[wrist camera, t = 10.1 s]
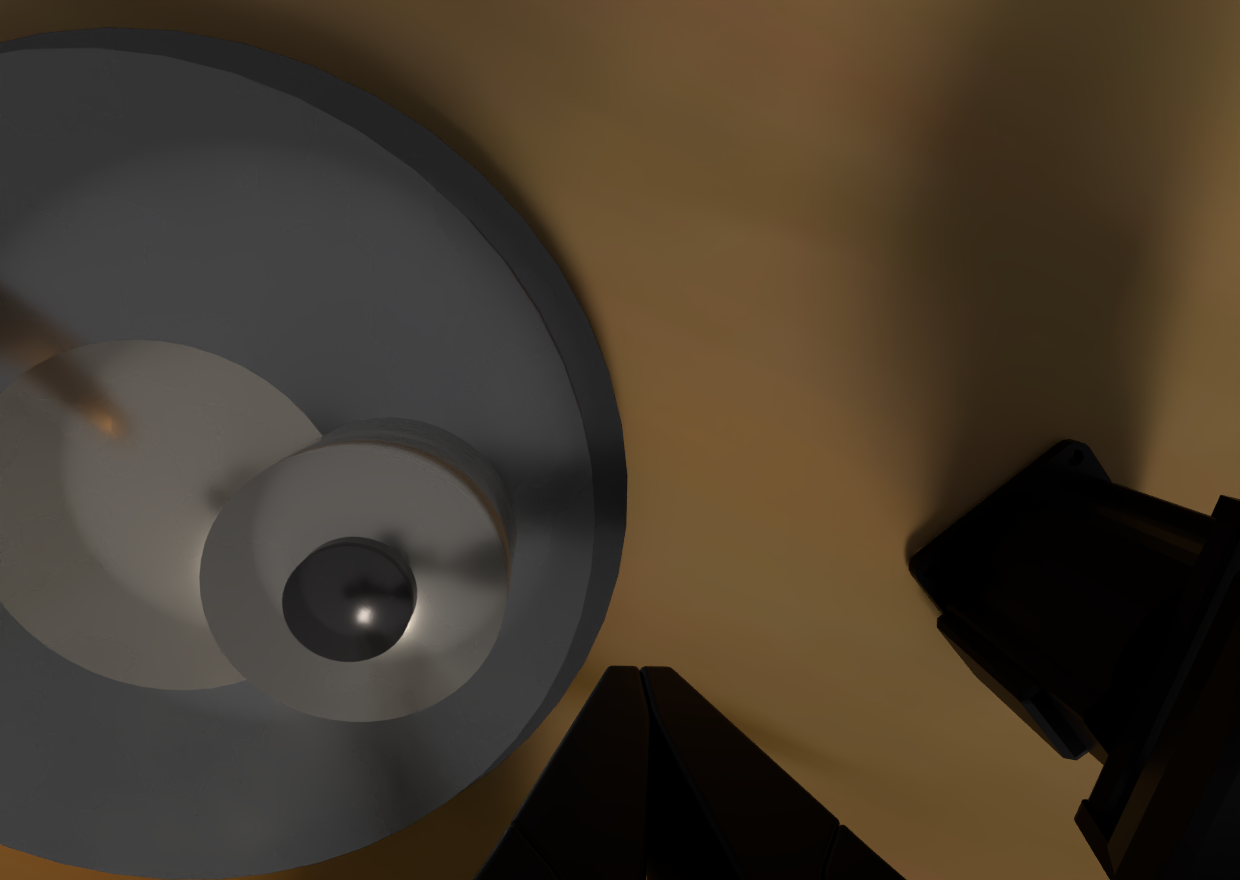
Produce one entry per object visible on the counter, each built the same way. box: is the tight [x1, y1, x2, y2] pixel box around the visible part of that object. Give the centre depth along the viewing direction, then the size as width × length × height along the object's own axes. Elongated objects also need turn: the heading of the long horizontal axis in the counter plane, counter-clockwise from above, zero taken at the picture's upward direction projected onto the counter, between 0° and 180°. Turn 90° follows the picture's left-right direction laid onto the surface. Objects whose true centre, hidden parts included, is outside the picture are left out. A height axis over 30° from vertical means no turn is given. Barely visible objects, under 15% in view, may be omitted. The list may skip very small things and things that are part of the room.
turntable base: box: [0, 27, 627, 796], centre depth 18 cm, size 23×23×1 cm
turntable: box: [0, 48, 595, 879], centre depth 14 cm, size 21×21×5 cm
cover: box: [199, 417, 517, 722], centre depth 14 cm, size 6×6×4 cm
